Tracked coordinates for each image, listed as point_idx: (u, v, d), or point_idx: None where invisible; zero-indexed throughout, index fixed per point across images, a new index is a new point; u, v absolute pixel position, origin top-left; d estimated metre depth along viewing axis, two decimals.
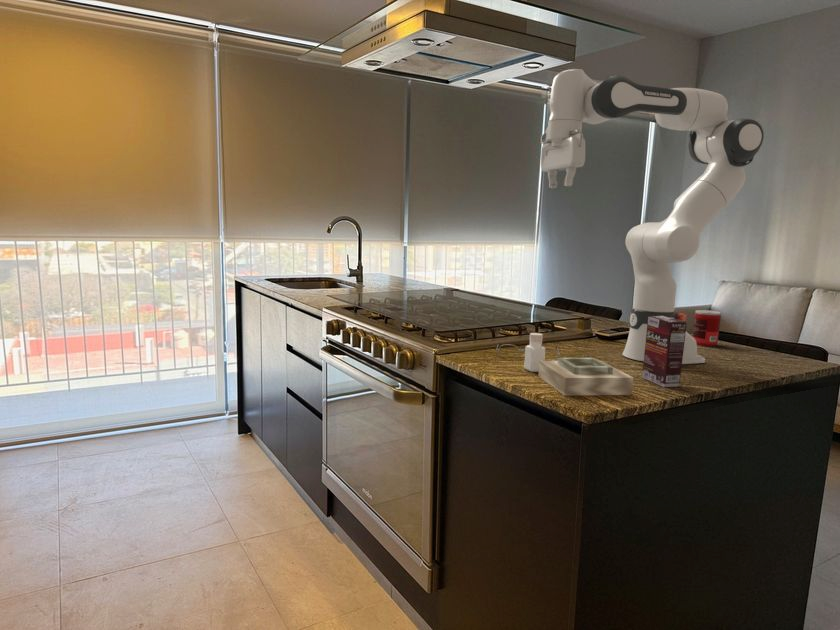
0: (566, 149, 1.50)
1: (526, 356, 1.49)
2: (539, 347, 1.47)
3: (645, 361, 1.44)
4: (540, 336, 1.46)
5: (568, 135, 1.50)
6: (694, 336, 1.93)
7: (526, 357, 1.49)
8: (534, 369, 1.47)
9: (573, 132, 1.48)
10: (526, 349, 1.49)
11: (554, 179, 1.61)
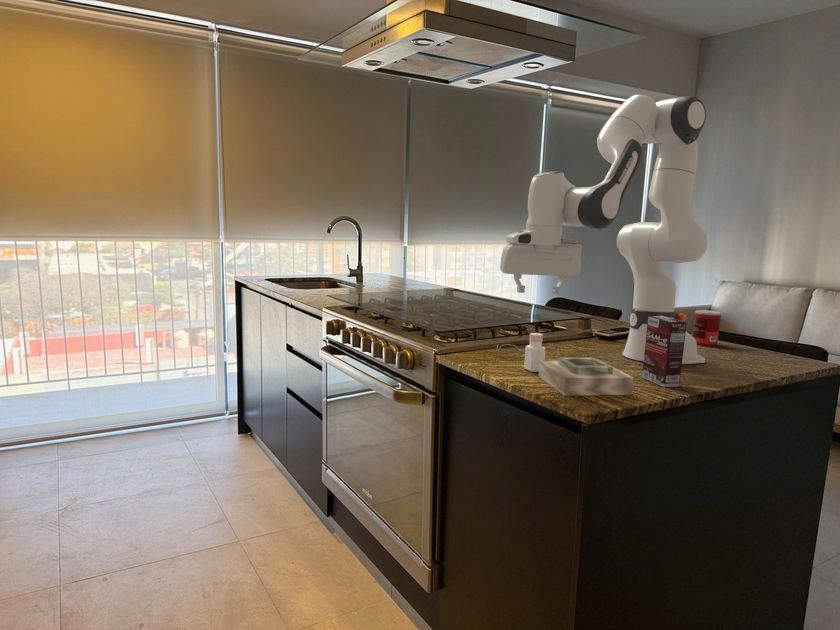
0: (564, 258, 1.44)
1: (526, 356, 1.49)
2: (539, 347, 1.47)
3: (645, 361, 1.44)
4: (540, 336, 1.46)
5: None
6: (694, 336, 1.93)
7: (526, 357, 1.49)
8: (534, 369, 1.47)
9: (568, 241, 1.45)
10: (526, 349, 1.49)
11: None
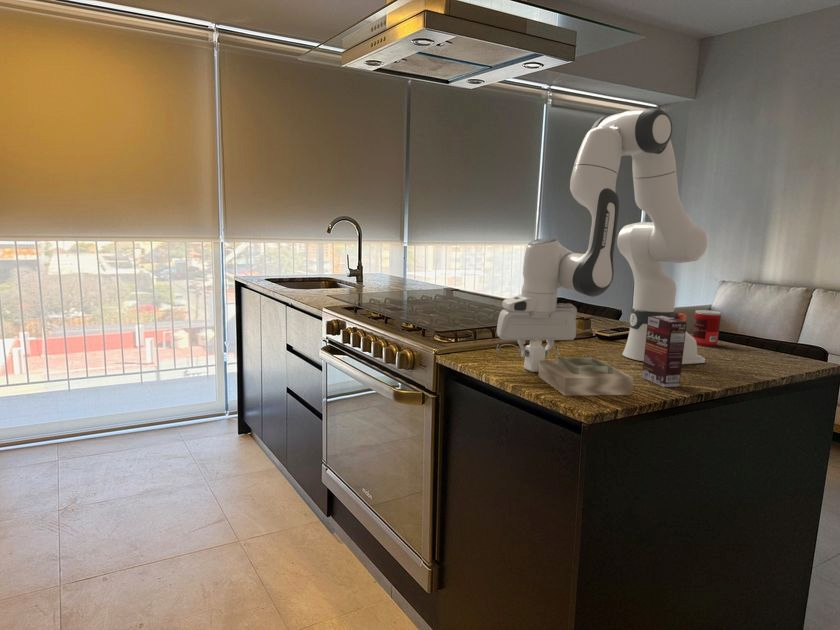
0: (559, 323, 1.47)
1: None
2: (539, 347, 1.47)
3: (645, 361, 1.44)
4: None
5: None
6: (694, 336, 1.93)
7: (526, 357, 1.49)
8: (534, 369, 1.47)
9: (563, 306, 1.47)
10: None
11: None
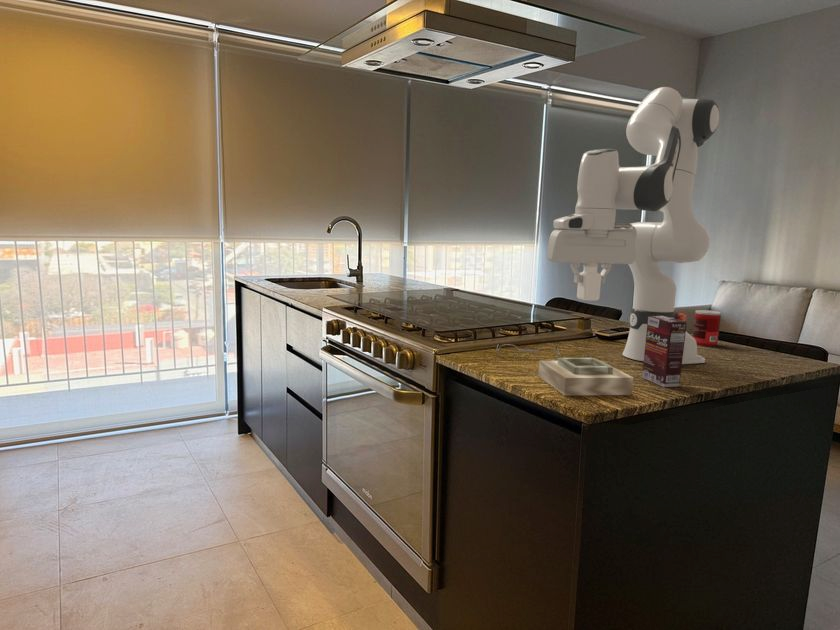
0: (617, 244, 1.31)
1: (579, 284, 1.34)
2: (594, 273, 1.31)
3: (645, 361, 1.44)
4: None
5: None
6: (694, 336, 1.93)
7: (579, 285, 1.34)
8: (588, 297, 1.32)
9: (622, 225, 1.32)
10: None
11: None
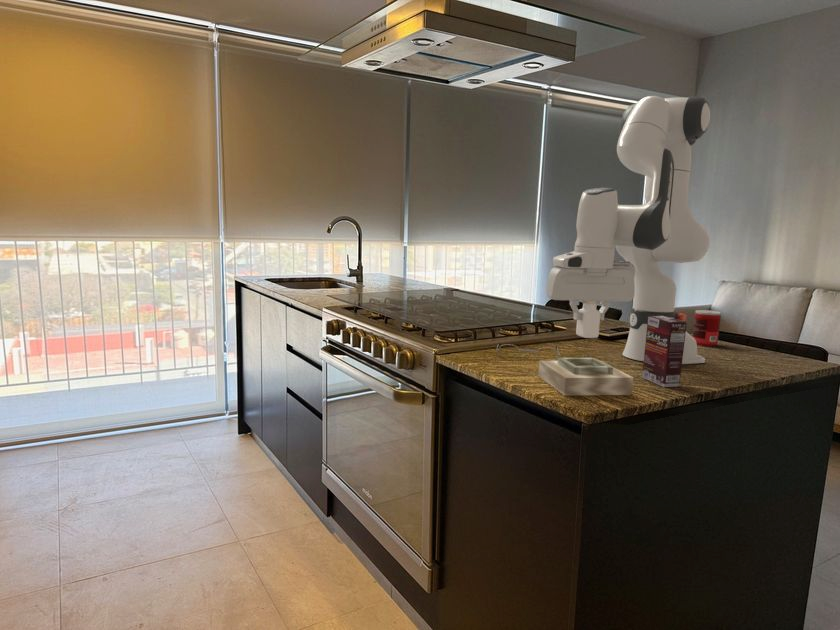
0: (616, 282, 1.32)
1: (578, 320, 1.34)
2: (593, 310, 1.32)
3: (645, 361, 1.44)
4: None
5: None
6: (694, 336, 1.93)
7: (578, 322, 1.34)
8: (587, 334, 1.32)
9: (621, 263, 1.33)
10: None
11: None
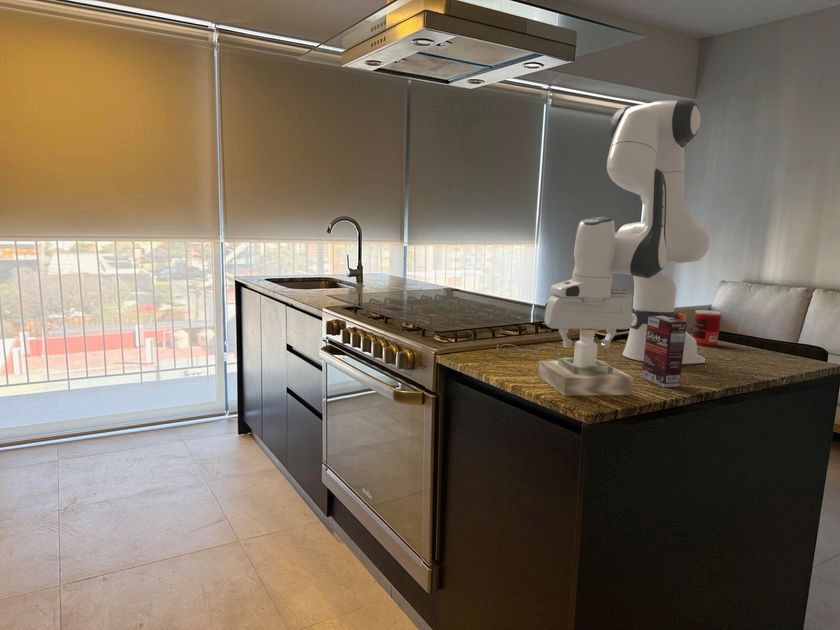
0: (614, 310, 1.33)
1: (576, 353, 1.36)
2: (591, 343, 1.33)
3: (645, 361, 1.44)
4: (592, 331, 1.33)
5: None
6: (694, 336, 1.93)
7: (576, 354, 1.36)
8: None
9: (618, 291, 1.34)
10: (576, 345, 1.36)
11: None
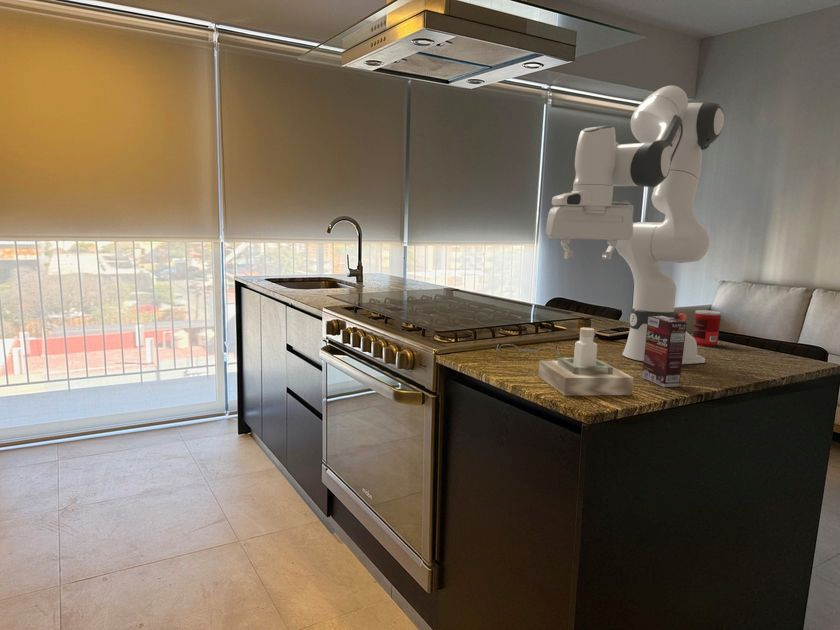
0: (615, 220, 1.33)
1: (576, 353, 1.36)
2: (590, 343, 1.34)
3: (645, 361, 1.44)
4: (592, 331, 1.33)
5: None
6: (694, 336, 1.93)
7: (576, 354, 1.36)
8: None
9: (619, 202, 1.34)
10: (576, 345, 1.36)
11: None
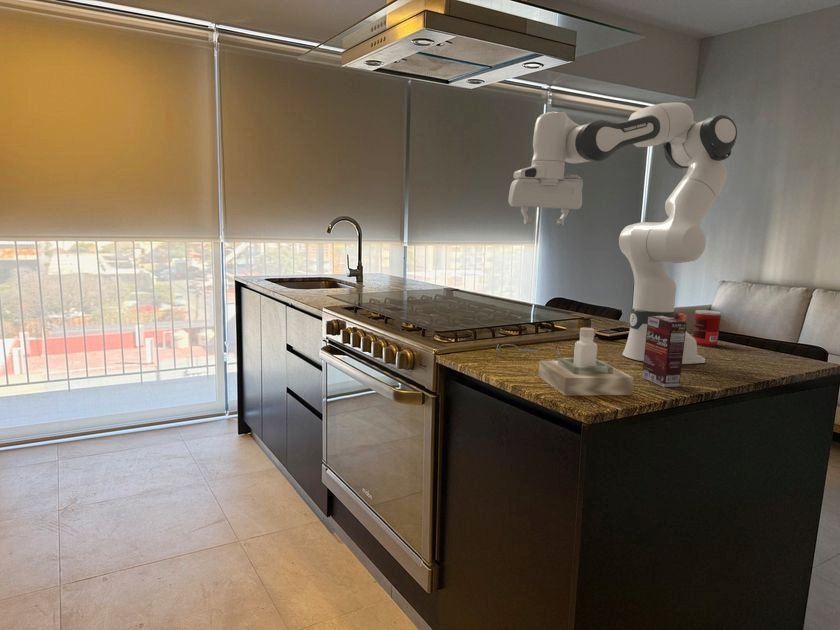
0: (566, 192, 1.58)
1: (576, 353, 1.36)
2: (590, 343, 1.34)
3: (645, 361, 1.44)
4: (592, 331, 1.33)
5: None
6: (694, 336, 1.93)
7: (576, 354, 1.36)
8: None
9: (570, 176, 1.58)
10: (576, 345, 1.36)
11: None
